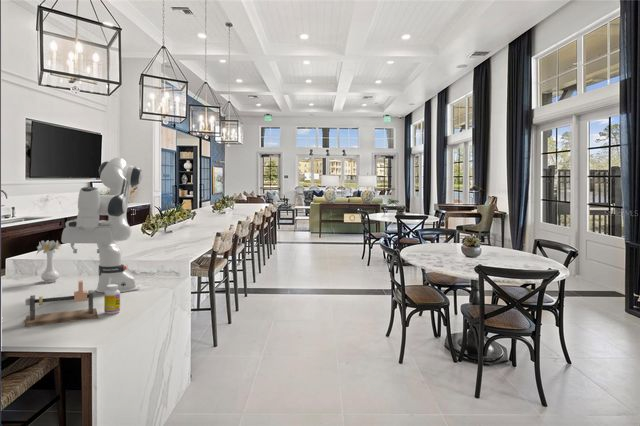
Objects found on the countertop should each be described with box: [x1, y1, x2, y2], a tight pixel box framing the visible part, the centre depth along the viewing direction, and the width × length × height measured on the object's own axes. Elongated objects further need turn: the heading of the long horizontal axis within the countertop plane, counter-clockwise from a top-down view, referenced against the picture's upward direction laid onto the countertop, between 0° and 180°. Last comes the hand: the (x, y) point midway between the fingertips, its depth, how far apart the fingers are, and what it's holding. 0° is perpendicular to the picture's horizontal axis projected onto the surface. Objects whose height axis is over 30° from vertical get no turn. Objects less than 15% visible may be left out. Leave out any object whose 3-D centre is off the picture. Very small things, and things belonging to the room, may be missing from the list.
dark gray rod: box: [25, 293, 89, 307], centre depth 187 cm, size 24×4×4 cm, turn 121°
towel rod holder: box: [24, 289, 99, 327], centre depth 188 cm, size 27×11×11 cm, turn 121°
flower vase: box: [36, 239, 63, 284], centre depth 253 cm, size 13×18×25 cm
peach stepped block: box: [73, 280, 88, 303], centre depth 191 cm, size 5×4×9 cm
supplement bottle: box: [103, 284, 121, 315], centre depth 199 cm, size 7×7×13 cm
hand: (87, 253), depth 193 cm, fingers open, 8 cm apart
